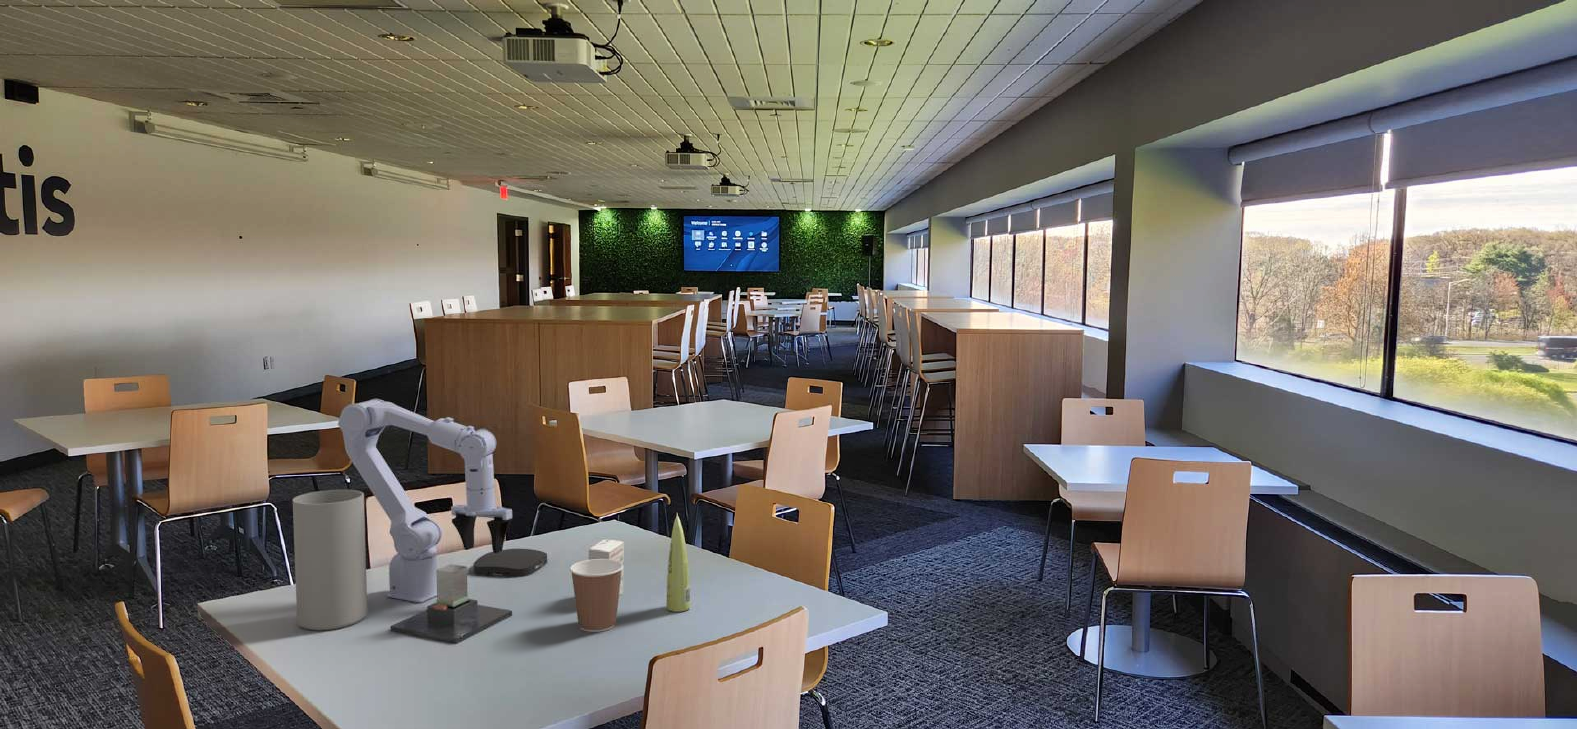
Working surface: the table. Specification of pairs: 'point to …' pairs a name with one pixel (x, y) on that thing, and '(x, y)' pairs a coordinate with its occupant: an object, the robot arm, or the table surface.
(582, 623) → the coffee cup
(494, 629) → the table surface
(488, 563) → the media streaming box
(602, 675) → the table surface
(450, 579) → the column
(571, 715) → the table surface
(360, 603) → the cylinder vase
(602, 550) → the ink box
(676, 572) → the tube
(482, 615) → the stand
